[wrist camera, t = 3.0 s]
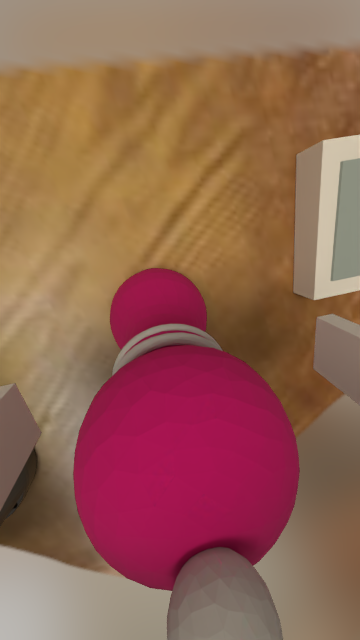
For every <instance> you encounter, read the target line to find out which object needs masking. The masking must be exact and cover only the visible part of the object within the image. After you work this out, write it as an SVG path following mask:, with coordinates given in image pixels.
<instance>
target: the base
mask: <svg viewBox="0 0 360 640" xmlns="http://www.w3.org/2000/svg"><path fill="white" fill-rule="evenodd" d="M358 290H360V135H355V136H348V137H342V138H335V139H329V140H323V141H321V142H319V143H317V144H315V145H314V146H312V147H310V148H308V149H306V150H304V151H302V152H300V153H298V154H297V155H296V198H295V242H294V286H293V293H296V294H299V295H301V296H304V297H307V298H309V299H312V300H317V299H322V298H326V297H331V296H335V295H340V294H345V293H349V292H354V291H358Z"/></svg>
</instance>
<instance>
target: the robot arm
mask: <svg viewBox="0 0 360 640" xmlns="http://www.w3.org/2000/svg"><path fill="white" fill-rule="evenodd" d="M313 369H314V370H316V371H317V372H318V373H319V374H321V375H322V376H323V377H324V378H326V379H327V380H328V381H330V382H331V383H332V384H333V385H335V386H336V387H337V388H338V389H340V390H341V391H342V392H343V393H345V394H346V395H347V396H348V397H350V398H351V399H352V400H354V401H355V402H356V403H357V404H359V405H360V325H358V324H356V323H353V322H351V321H348V320H346V319H344V318H341V317H339V316H336V315H334V314H330V315H325V316H321V317H317V321H316V336H315V352H314V367H313ZM40 435H41V431H40V429H39V427H38V425H37V423H36V422H35V420H34V418H33V416H32V414H31V412H30V410H29V408H28V407H27V405H26V403H25V401H24V399H23V397H22V395H21V393H20V392H19V390H18V388H17V386H16V384H15V383H13V384H9V385H4V386H0V526H1V525H2V523H3V522H4V520H5V519H6V518H8V517H9V516H10V515H11V514H12V513H13V512H14V511H15V510H16V509H17V507H18V506H19V505H20V504H21V502H22V501H23V499H24V497H25V495H26V493H27V491H28V489H29V487H30V485H31V482H32V480H33V478H34V476H35V472H36V468H37V460H36V455H35V452H34V449H33V448H34V446H35V444H36V442H37V441H38V439H39V437H40Z"/></svg>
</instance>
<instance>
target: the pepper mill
mask: <svg viewBox="0 0 360 640" xmlns="http://www.w3.org/2000/svg"><path fill="white" fill-rule="evenodd" d="M206 321H207V312H206V306H205V303H204V300H203V298H202V296H201V294H200V292H199V291H198V289H197V288H196V286H195V285H194V284H193V283H192V282H191V281H190V280H189V279H188V278H186V277H185V276H183V275H182V274H180V273H177V272H175V271H172V270H168V269H160V268H151V269H147V270H143V271H141V272H139V273H137V274H135V275H133V276H131V277H130V278H129V279H127V280H126V281H125V282H124V283H123V284H122V285H121V286H120V287H119V289H118V291H117V292H116V294H115V296H114V298H113V301H112V305H111V311H110V325H111V330H112V333H113V336H114V338H115V341H116V342H117V344H118V346H119V348H120V349H121V352H120V353H119V355H118V357H117V359H116V361H115V364H114V367H113V371H112V377H111V378H110V379H109V380H108V381H107V382H106V383H105V384H104V385H103V386H102V387H101V389H100V390H99V391H98V393H97V394H96V395H95V397H94V399H93V401H92V403H91V405H90V407H89V409H88V411H87V414H86V416H85V418H84V421H83V423H82V425H81V428H80V430H79V435H78V440H77V444H76V449H75V458H74V472H73V475H74V490H75V499H76V504H77V509H78V513H79V516H80V518H81V521H82V524H83V526H84V529H85V531H86V534H87V535H88V537H89V539H90V541H91V543H92V544H93V546H94V548H95V550H96V551H97V552H98V553H99V554H100V555H101V556H102V557H103V559H104V560H105V561H106V562H107V563H108V564H109V565H110V566H111V567H113V568H114V569H115V570H117V571H118V572H119V573H121V574H122V575H123V576H125V577H126V578H128V579H130V580H133V581H135V582H137V583H140V584H142V585H145V586H147V587H149V588H155V589H162V590H170V591H172V594H171V598H170V604H169V609H168V615H167V640H283V636H282V630H281V625H280V619H279V617H278V614H277V611H276V608H275V605H274V603H273V600H272V597H271V595H270V592H269V590H268V588H267V586H266V583H265V582H264V580H263V579H262V578H261V576H260V575H259V573H258V572H257V571H256V569H255V568H254V567H253V565H255V564H256V563H257V562H259V561H260V560H261V558H263V556H264V555H265V554H266V553H267V552H268V551H269V550H270V549H271V548H272V546H273V545H274V544H275V542H276V541H277V539H278V537H279V536H280V534H281V533H282V531H283V529H284V528H285V526H286V524H287V522H288V520H289V518H290V515H291V513H292V510H293V508H294V504H295V499H296V494H297V488H298V480H299V472H300V470H299V457H298V450H297V444H296V438H295V435H294V432H293V429H292V426H291V424H290V421H289V419H288V417H287V415H286V413H285V411H284V408H283V406H282V404H281V402H280V401H279V399H278V398H277V396H276V395H275V393H274V392H273V391H272V389H271V388H270V386H269V385H268V383H267V382H266V381H265V380H264V379H263V378H262V377H261V376H260V375H259V374H258V373H257V372H256V371H254V370H253V369H252V368H251V367H250V366H249V365H248V364H246V363H245V362H244V361H242V360H240V359H238V358H236V357H234V356H232V355H230V354H228V353H226V352H224V351H223V350H222V349H221V347H220V345H219V344H218V343H217V342H216V341H215V339H214V338H213V337H211V336H210V335H209V334H207V333H206V332H205V330H206Z"/></svg>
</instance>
